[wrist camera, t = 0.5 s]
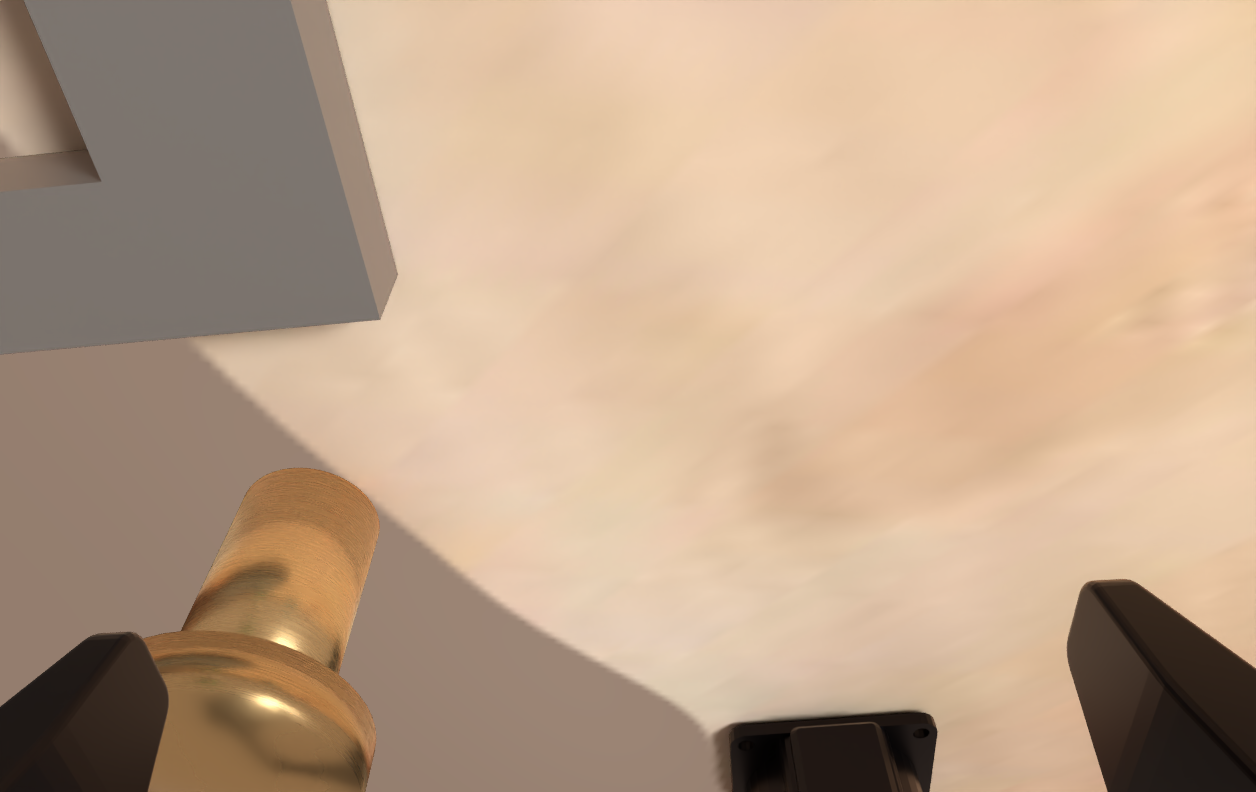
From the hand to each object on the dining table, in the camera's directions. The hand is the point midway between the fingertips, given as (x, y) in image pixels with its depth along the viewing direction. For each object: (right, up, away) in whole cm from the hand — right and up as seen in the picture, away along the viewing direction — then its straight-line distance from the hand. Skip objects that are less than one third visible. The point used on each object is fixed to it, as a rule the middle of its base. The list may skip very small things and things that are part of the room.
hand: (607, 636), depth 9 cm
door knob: (-8, -1, +17) cm, 19 cm away
